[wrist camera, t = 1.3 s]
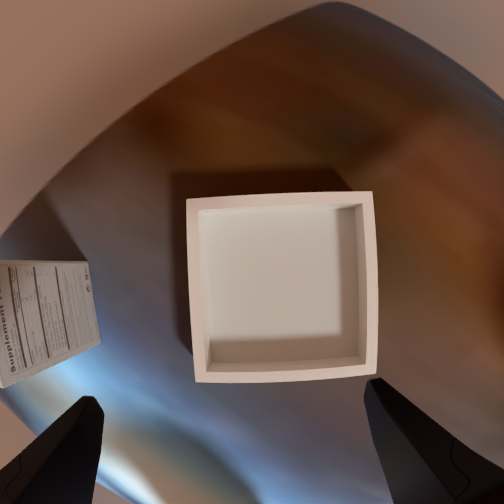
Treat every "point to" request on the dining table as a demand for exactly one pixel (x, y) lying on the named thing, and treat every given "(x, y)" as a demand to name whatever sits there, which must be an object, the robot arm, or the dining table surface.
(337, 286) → the tray
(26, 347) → the supplement box
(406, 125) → the dining table surface
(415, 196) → the dining table surface
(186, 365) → the dining table surface
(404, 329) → the dining table surface
